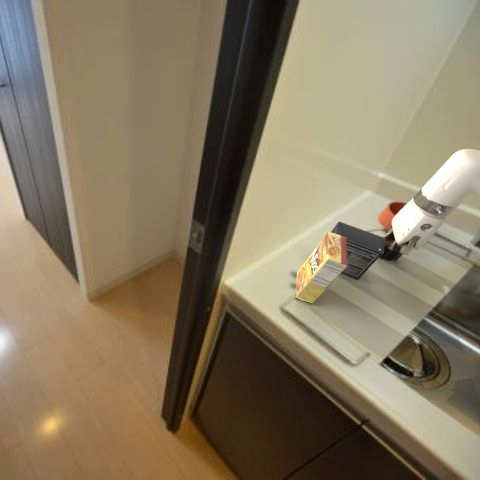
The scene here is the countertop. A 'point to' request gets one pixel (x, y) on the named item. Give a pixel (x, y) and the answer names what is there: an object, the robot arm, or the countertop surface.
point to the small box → (359, 249)
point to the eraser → (388, 243)
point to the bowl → (390, 213)
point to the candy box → (322, 267)
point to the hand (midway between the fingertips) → (383, 252)
